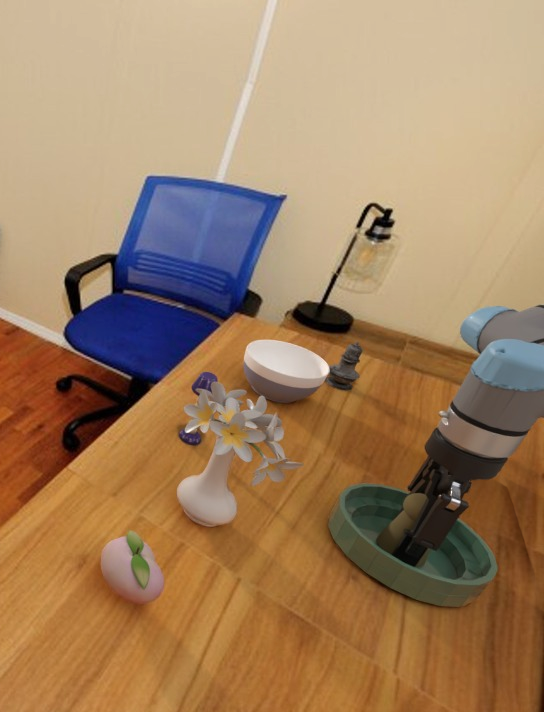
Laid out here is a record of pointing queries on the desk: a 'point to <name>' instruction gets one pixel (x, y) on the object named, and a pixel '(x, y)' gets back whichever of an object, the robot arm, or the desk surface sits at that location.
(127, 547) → the decorative fruit
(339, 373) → the grey stone figurine
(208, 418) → the flower vase
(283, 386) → the bowl
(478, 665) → the desk surface
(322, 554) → the desk surface
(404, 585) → the green bowl
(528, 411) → the robot arm
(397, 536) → the olive brown pawn
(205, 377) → the toy lamp
